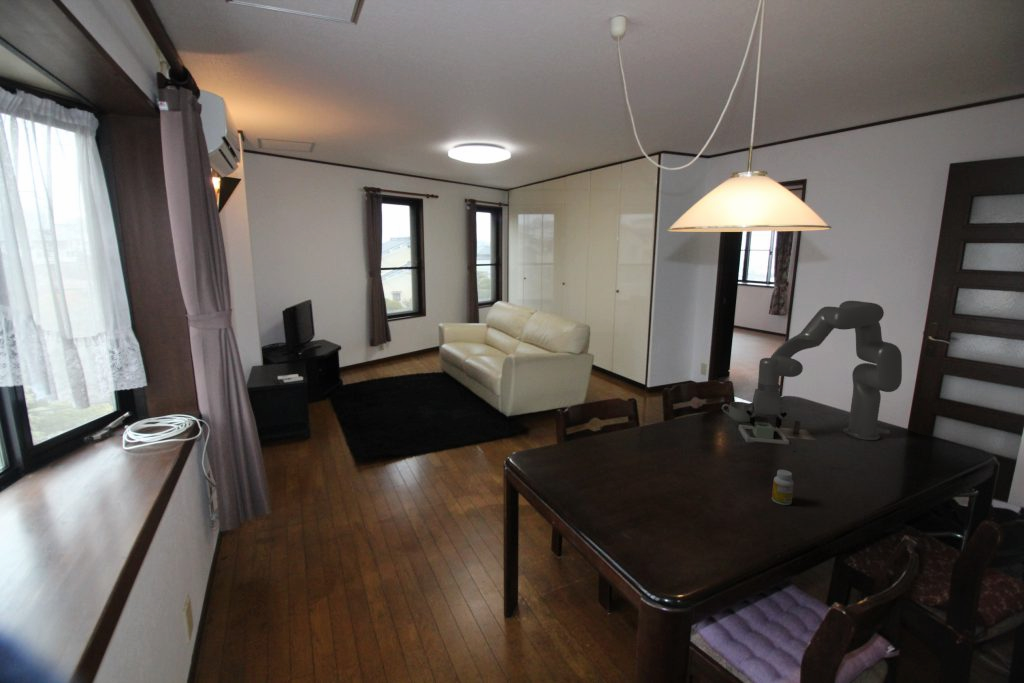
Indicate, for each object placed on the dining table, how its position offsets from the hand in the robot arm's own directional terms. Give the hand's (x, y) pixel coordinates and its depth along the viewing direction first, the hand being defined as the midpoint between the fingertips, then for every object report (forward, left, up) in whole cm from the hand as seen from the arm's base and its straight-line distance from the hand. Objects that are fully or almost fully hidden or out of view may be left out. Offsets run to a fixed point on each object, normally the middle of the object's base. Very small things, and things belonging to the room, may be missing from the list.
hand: (765, 426), depth 193 cm
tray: (+1, 0, -5) cm, 5 cm away
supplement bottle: (+9, +56, -5) cm, 57 cm away
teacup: (+7, -20, -5) cm, 22 cm away
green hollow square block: (+1, 0, -5) cm, 5 cm away
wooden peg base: (-14, -6, -5) cm, 16 cm away
